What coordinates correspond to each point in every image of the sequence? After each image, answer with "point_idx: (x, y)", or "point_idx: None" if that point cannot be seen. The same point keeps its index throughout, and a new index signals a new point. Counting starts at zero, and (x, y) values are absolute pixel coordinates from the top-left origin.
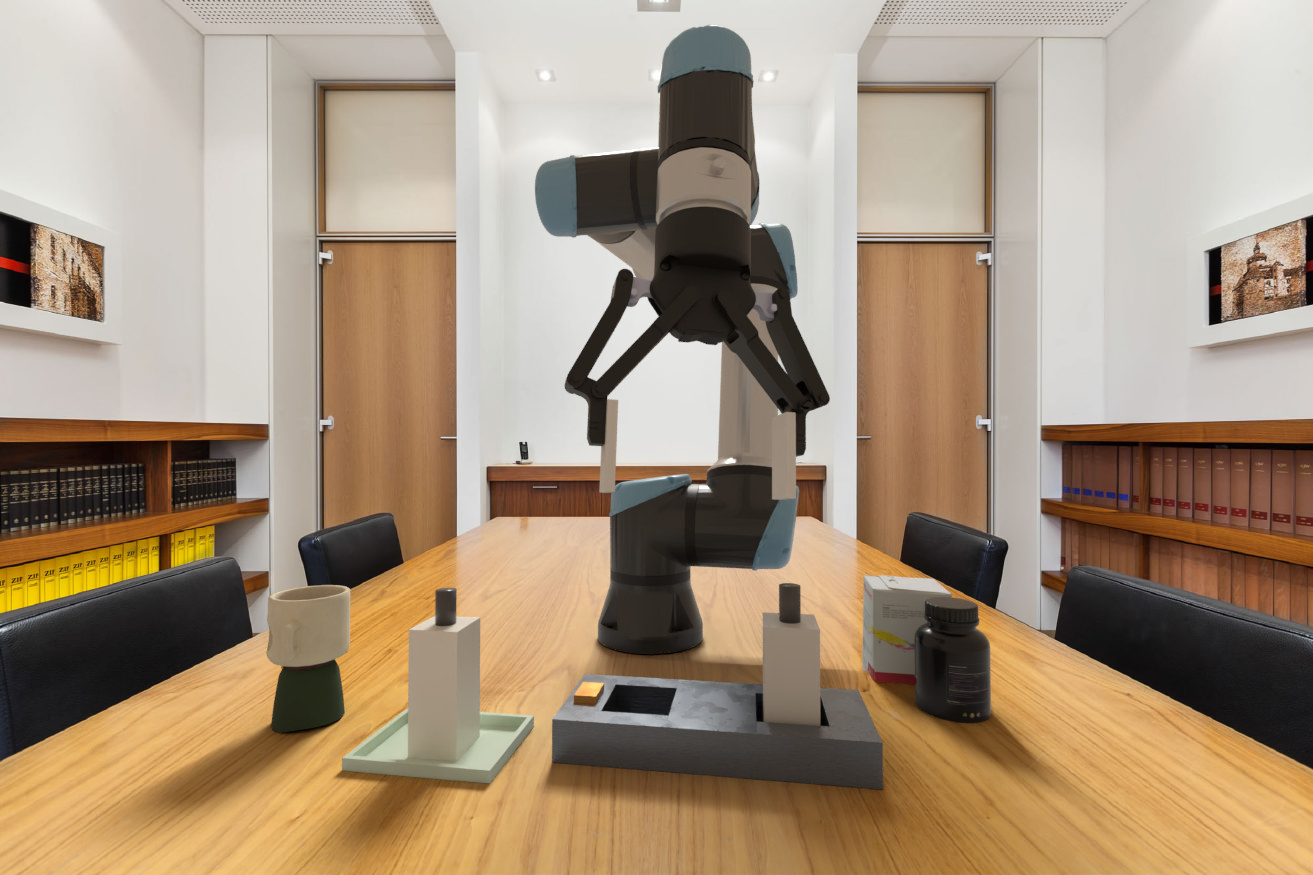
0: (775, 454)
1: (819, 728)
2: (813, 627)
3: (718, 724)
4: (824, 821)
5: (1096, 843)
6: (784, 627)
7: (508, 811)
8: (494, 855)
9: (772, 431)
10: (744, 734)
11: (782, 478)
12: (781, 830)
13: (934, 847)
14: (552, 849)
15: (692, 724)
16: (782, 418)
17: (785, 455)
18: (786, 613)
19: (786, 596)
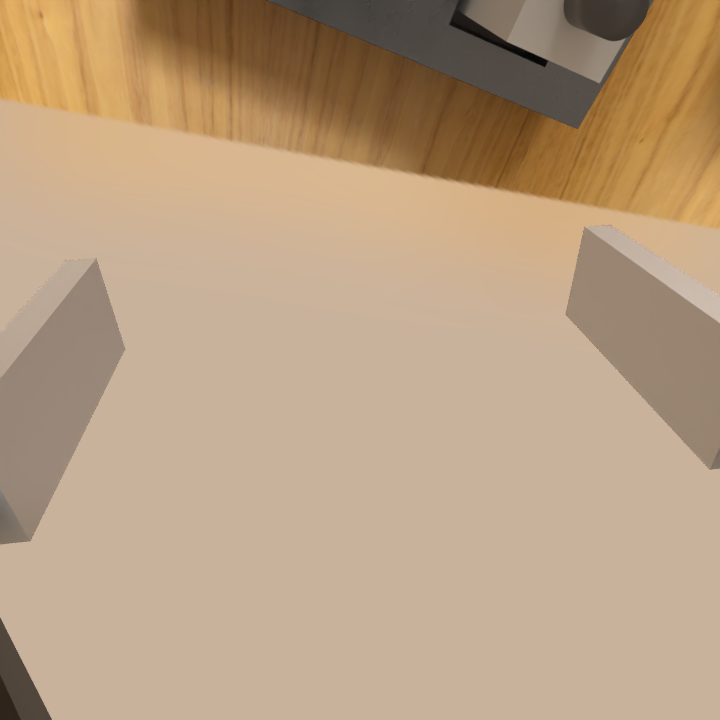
0: (652, 305)
1: (526, 71)
2: (597, 67)
3: (386, 23)
4: (472, 113)
5: (691, 195)
6: (544, 54)
7: (87, 10)
8: (101, 102)
9: (717, 325)
10: (414, 61)
11: (595, 317)
12: (418, 120)
13: (548, 174)
14: (164, 104)
15: (345, 14)
16: (706, 430)
17: (622, 369)
18: (575, 23)
19: (590, 29)
